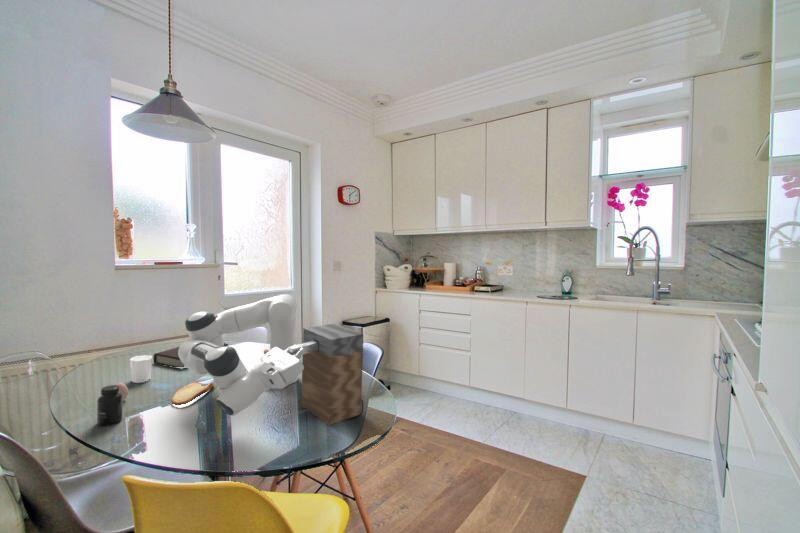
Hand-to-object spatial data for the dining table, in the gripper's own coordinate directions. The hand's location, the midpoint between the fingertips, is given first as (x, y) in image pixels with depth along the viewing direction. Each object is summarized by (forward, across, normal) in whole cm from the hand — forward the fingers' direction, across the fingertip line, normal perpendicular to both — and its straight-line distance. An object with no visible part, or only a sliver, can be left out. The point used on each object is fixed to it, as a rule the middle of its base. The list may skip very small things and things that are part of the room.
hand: (300, 347), depth 129 cm
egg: (-54, -55, 0) cm, 77 cm away
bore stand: (-2, 0, -30) cm, 30 cm away
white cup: (-46, -75, -5) cm, 88 cm away
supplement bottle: (-57, -38, +2) cm, 69 cm away
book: (-24, -94, -17) cm, 99 cm away
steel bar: (+3, 0, -4) cm, 5 cm away
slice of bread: (-34, -44, -12) cm, 57 cm away
